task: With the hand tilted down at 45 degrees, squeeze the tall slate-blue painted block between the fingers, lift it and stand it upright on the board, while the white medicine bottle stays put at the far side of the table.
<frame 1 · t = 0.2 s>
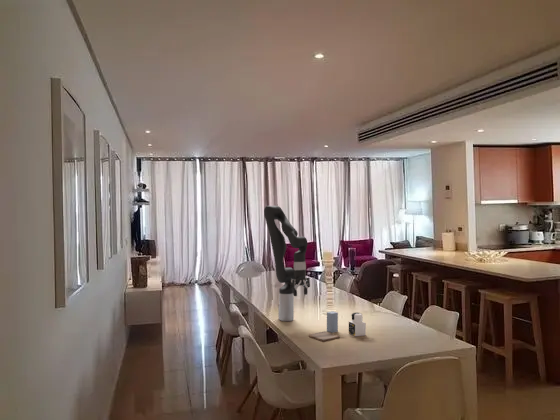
hand: (300, 295, 278), 18 cm above the table, tool pointing down, fingers open, 8 cm apart
board: (324, 337, 251), on the table
medicine bottle: (357, 334, 257), on the table
block: (332, 331, 263), on the table
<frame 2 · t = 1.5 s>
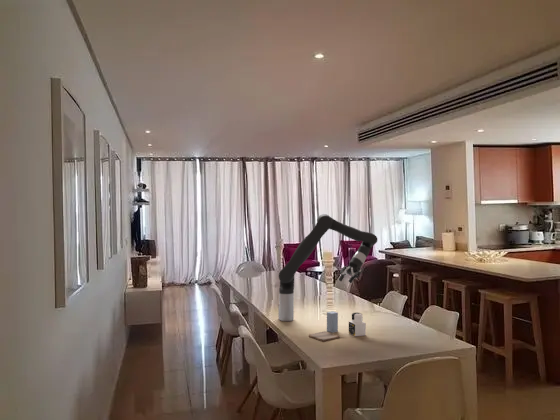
hand: (344, 281, 273), 27 cm above the table, tool tilted 45°, fingers open, 8 cm apart
nothing on the table moved.
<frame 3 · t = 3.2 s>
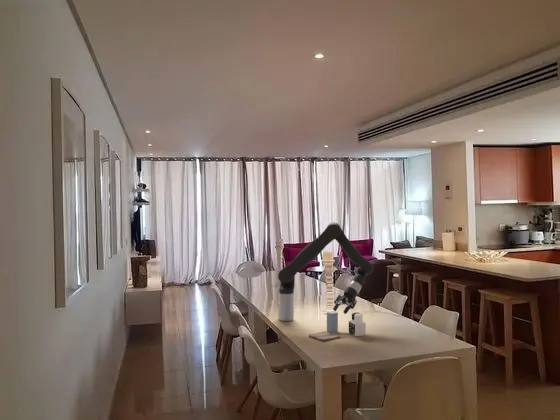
hand: (339, 311, 266), 11 cm above the table, tool tilted 45°, fingers open, 8 cm apart
nothing on the table moved.
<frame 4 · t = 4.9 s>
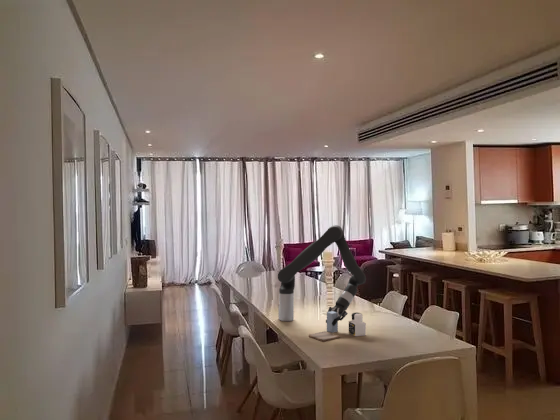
hand: (329, 323, 262), 5 cm above the table, tool tilted 45°, fingers closed on block, 4 cm apart
block: (332, 331, 263), on the table, touching gripper
everything else where it was.
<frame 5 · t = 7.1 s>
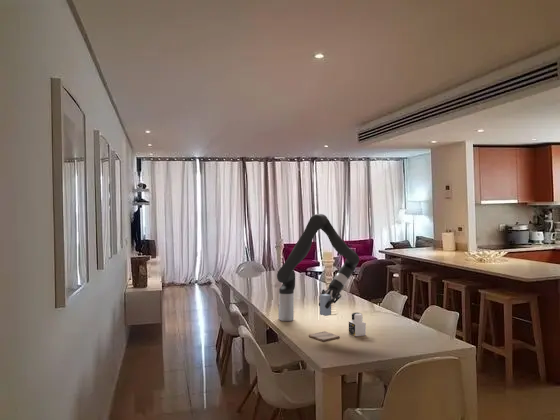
hand: (323, 306, 251), 17 cm above the table, tool tilted 45°, fingers closed on block, 4 cm apart
block: (325, 314, 252), point 12 cm above the table, touching gripper
everything else where it was.
when the fingers open (7 cm above the table, at t = 9.5 s): block drops 1 cm, resting on board.
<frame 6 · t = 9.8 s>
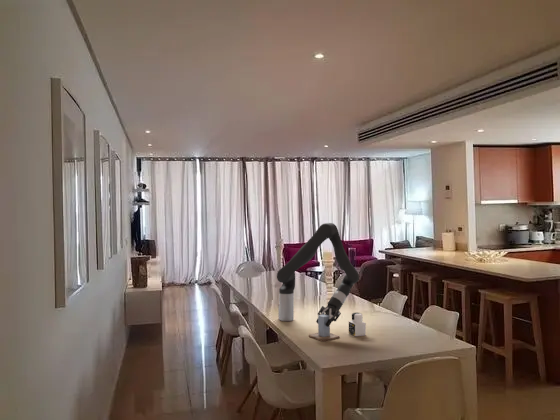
hand: (322, 324, 250), 7 cm above the table, tool tilted 45°, fingers open, 7 cm apart
block: (324, 335, 251), point 1 cm above the table, touching board
everything else where it was.
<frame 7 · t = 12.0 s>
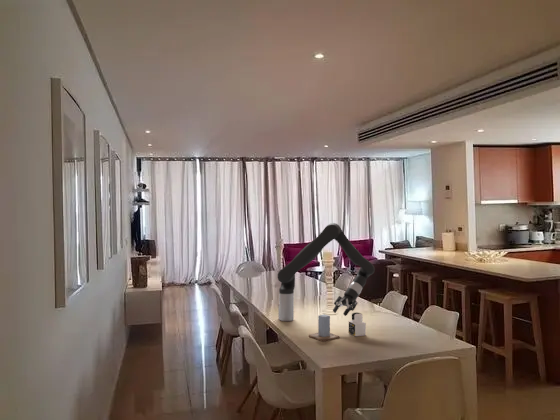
hand: (339, 313, 260), 11 cm above the table, tool tilted 45°, fingers open, 8 cm apart
nothing on the table moved.
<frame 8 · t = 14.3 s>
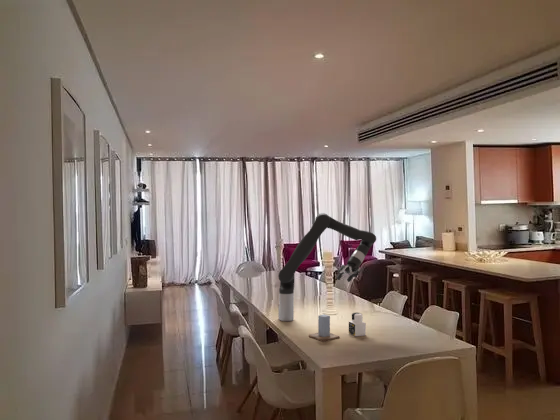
hand: (342, 280, 269), 29 cm above the table, tool tilted 45°, fingers open, 8 cm apart
nothing on the table moved.
at the end: block inside the target area on the board (0.1 cm from its centre), point 1.0 cm above the board's base; block tilted 0°; the gripper is holding nothing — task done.
